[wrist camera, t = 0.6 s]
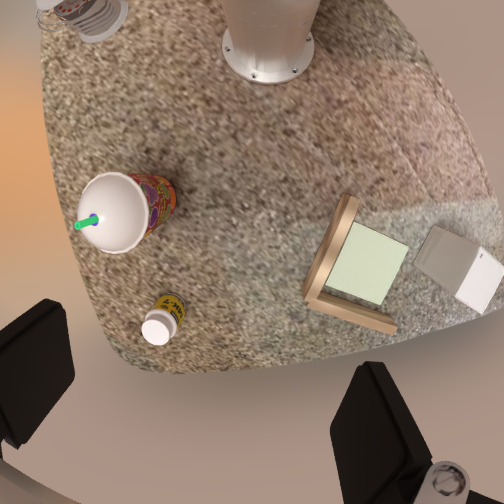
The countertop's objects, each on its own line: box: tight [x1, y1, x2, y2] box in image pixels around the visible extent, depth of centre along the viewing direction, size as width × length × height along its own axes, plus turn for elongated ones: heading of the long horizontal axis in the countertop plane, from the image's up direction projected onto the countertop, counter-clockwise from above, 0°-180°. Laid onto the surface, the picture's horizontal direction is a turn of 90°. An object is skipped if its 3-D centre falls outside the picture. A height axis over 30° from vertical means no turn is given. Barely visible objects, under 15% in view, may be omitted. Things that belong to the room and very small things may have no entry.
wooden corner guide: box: [301, 193, 398, 335], centre depth 40 cm, size 16×16×4 cm
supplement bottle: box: [142, 293, 186, 345], centre depth 41 cm, size 5×5×8 cm
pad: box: [325, 221, 409, 305], centre depth 42 cm, size 10×10×1 cm
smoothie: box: [75, 172, 176, 254], centre depth 31 cm, size 8×8×20 cm
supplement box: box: [413, 225, 504, 314], centre depth 35 cm, size 7×7×13 cm
